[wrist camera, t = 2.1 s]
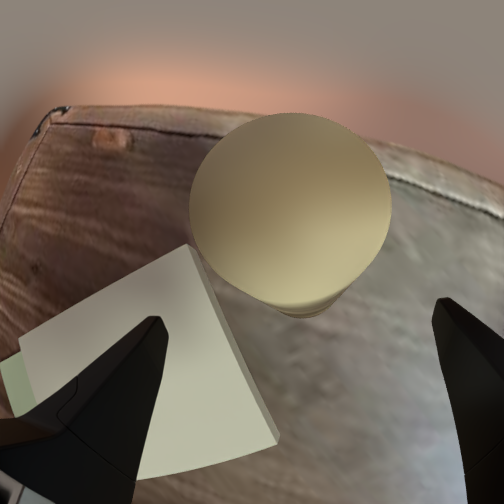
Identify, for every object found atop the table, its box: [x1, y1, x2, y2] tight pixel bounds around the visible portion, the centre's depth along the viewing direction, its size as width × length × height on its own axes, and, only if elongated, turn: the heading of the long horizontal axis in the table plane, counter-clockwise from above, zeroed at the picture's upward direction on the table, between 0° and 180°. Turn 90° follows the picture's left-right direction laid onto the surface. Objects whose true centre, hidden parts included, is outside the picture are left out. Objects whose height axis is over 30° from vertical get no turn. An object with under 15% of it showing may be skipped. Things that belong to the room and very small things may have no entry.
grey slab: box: [18, 243, 280, 480], centre depth 18 cm, size 13×16×4 cm
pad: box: [0, 351, 37, 418], centre depth 21 cm, size 9×9×1 cm
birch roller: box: [189, 113, 391, 318], centre depth 14 cm, size 5×5×13 cm
